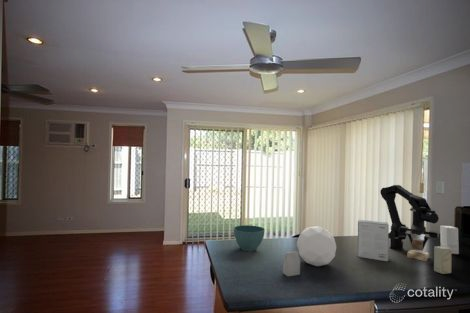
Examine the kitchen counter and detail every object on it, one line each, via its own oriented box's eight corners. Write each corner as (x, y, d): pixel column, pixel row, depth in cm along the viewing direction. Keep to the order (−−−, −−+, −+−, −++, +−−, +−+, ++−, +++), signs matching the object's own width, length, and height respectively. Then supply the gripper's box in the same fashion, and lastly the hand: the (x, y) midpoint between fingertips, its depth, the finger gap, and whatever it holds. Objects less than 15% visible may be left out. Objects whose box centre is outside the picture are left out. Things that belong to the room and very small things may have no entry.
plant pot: (228, 251, 159) (228, 229, 159) (239, 243, 176) (240, 223, 176) (258, 256, 152) (259, 233, 153) (267, 247, 169) (268, 227, 169)
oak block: (407, 257, 160) (407, 252, 160) (410, 254, 166) (410, 249, 167) (426, 261, 154) (426, 256, 154) (428, 258, 161) (428, 252, 161)
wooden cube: (412, 248, 160) (412, 239, 160) (413, 246, 164) (413, 238, 164) (422, 250, 157) (422, 241, 157) (423, 248, 161) (424, 240, 161)
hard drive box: (387, 257, 157) (388, 222, 158) (388, 262, 150) (389, 224, 151) (357, 253, 164) (358, 219, 165) (357, 256, 157) (357, 221, 158)
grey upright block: (299, 274, 129) (300, 252, 129) (287, 276, 126) (288, 254, 126) (294, 271, 132) (295, 250, 132) (282, 273, 129) (283, 251, 130)
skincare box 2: (442, 274, 135) (442, 248, 135) (433, 270, 139) (433, 246, 140) (451, 273, 137) (452, 248, 137) (442, 269, 141) (443, 245, 141)
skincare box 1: (459, 254, 168) (459, 228, 169) (446, 253, 170) (446, 227, 170) (451, 250, 176) (451, 225, 177) (439, 249, 178) (439, 224, 178)
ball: (304, 276, 144) (284, 240, 152) (333, 258, 151) (312, 225, 159) (321, 270, 128) (297, 230, 136) (352, 250, 135) (327, 214, 143)
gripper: (396, 218, 161) (396, 246, 161) (436, 224, 149) (436, 253, 148) (401, 216, 169) (400, 242, 169) (439, 221, 157) (438, 249, 156)
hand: (418, 246), depth 160 cm, fingers closed on wooden cube, 5 cm apart
